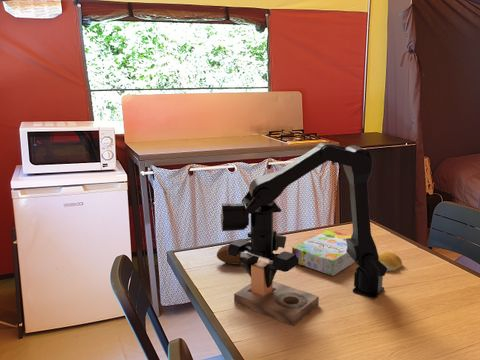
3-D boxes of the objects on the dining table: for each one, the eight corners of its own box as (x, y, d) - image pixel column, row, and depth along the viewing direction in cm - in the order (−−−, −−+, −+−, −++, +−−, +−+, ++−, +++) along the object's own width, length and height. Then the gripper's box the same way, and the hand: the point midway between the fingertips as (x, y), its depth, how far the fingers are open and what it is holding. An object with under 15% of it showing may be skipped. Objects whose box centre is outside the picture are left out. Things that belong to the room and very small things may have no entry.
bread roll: (405, 265, 138) (406, 252, 137) (392, 274, 132) (393, 261, 131) (380, 257, 144) (380, 245, 143) (366, 266, 138) (367, 254, 137)
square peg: (272, 292, 119) (272, 264, 117) (263, 298, 116) (263, 269, 114) (260, 288, 121) (260, 260, 119) (251, 293, 118) (251, 265, 116)
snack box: (291, 263, 140) (333, 277, 130) (291, 246, 139) (333, 259, 129) (328, 244, 155) (368, 254, 145) (328, 228, 154) (369, 238, 144)
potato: (216, 260, 143) (215, 239, 141) (252, 258, 144) (252, 237, 142) (217, 269, 136) (216, 247, 135) (255, 267, 138) (255, 245, 136)
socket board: (318, 305, 115) (318, 296, 114) (293, 325, 106) (293, 316, 105) (261, 285, 126) (261, 277, 125) (234, 302, 117) (234, 293, 116)
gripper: (310, 227, 114) (308, 283, 118) (251, 213, 126) (252, 265, 129) (286, 240, 106) (285, 300, 110) (225, 224, 117) (227, 279, 121)
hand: (261, 284), depth 118 cm, fingers closed on square peg, 4 cm apart
